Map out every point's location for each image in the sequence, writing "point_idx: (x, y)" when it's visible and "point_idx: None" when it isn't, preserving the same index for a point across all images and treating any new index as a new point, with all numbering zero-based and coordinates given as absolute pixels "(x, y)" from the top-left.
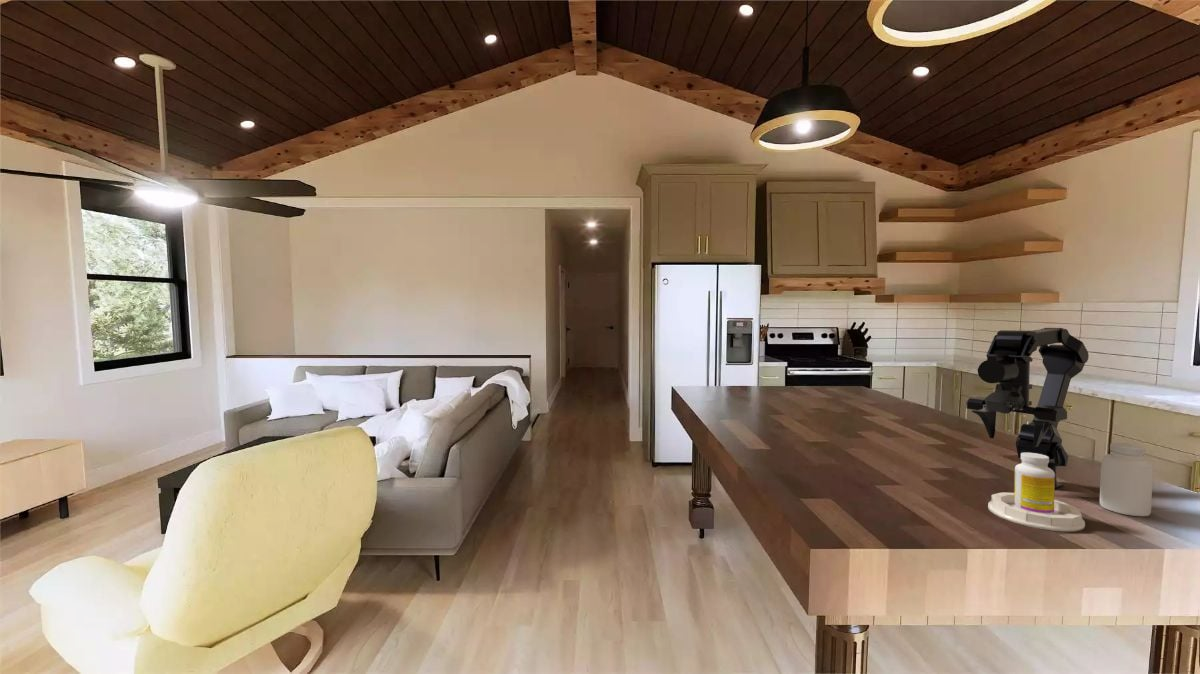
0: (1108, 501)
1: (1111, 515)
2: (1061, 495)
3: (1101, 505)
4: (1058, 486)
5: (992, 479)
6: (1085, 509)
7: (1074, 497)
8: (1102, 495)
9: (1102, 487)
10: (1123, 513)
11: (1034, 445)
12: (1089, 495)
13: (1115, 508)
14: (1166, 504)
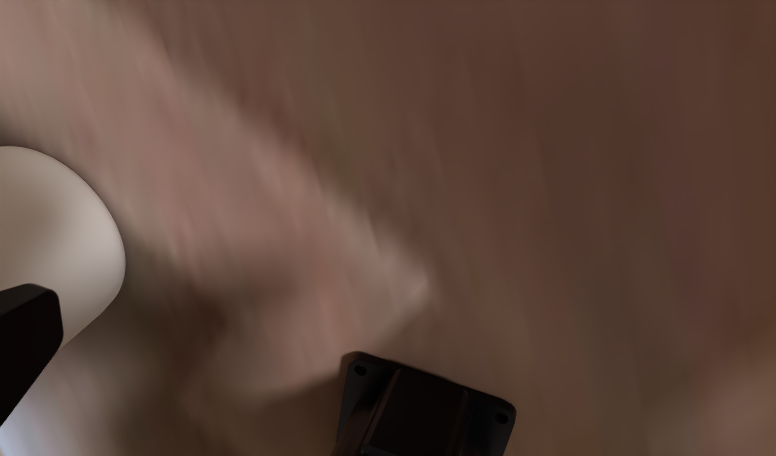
0: (28, 183)
1: (27, 82)
2: (289, 285)
3: (98, 201)
4: (339, 421)
5: (683, 371)
6: (123, 90)
7: (239, 293)
8: (46, 224)
9: (7, 252)
10: (9, 146)
11: (26, 288)
12: (217, 376)
13: (21, 156)
14: (37, 427)
